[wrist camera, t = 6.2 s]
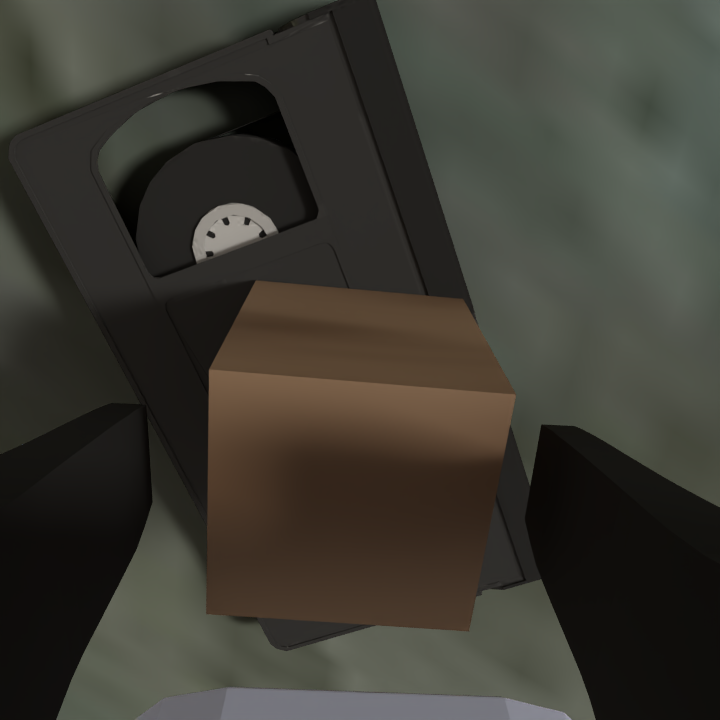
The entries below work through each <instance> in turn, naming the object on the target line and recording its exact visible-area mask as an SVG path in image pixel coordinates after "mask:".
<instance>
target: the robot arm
mask: <svg viewBox="0 0 720 720" xmlns="http://www.w3.org/2000/svg"><path fill="white" fill-rule="evenodd" d="M151 505H152V487H151V471H150V455H149V439H148V423H147V407H146V405H140V404H120V403H111V404H108V405H105V406H102V407H100V408H98V409H95V410H93V411H91V412H89V413H87V414H85V415H82V416H80V417H78V418H76V419H74V420H72V421H70V422H68V423H66V424H64V425H62V426H60V427H58V428H56V429H54V430H52V431H50V432H48V433H46V434H44V435H42V436H40V437H38V438H36V439H34V440H32V441H30V442H27V443H25V444H23V445H21V446H19V447H16V448H14V449H12V450H10V451H7V452H5V453H3V454H1V455H0V720H56V718H57V716H58V713H59V711H60V708H61V705H62V703H63V700H64V698H65V695H66V692H67V690H68V687H69V685H70V682H71V679H72V677H73V675H74V673H75V670H76V668H77V666H78V664H79V662H80V660H81V657H82V655H83V653H84V651H85V649H86V647H87V645H88V643H89V641H90V639H91V637H92V635H93V634H94V632H95V630H96V628H97V626H98V624H99V622H100V620H101V618H102V616H103V614H104V612H105V610H106V608H107V606H108V604H109V603H110V601H111V599H112V597H113V595H114V593H115V591H116V589H117V587H118V585H119V583H120V581H121V579H122V577H123V575H124V573H125V571H126V569H127V567H128V565H129V563H130V561H131V559H132V557H133V555H134V553H135V551H136V549H137V547H138V544H139V541H140V538H141V535H142V532H143V530H144V527H145V524H146V521H147V517H148V514H149V511H150V508H151ZM525 523H526V527H527V531H528V536H529V540H530V544H531V548H532V552H533V556H534V559H535V563H536V566H537V569H538V571H539V574H540V577H541V579H542V581H543V584H544V586H545V589H546V591H547V594H548V596H549V599H550V601H551V604H552V606H553V608H554V611H555V613H556V615H557V618H558V620H559V623H560V625H561V627H562V630H563V632H564V635H565V637H566V639H567V642H568V644H569V647H570V649H571V651H572V654H573V656H574V658H575V661H576V663H577V666H578V668H579V670H580V673H581V676H582V679H583V681H584V684H585V687H586V690H587V692H588V695H589V698H590V701H591V705H592V708H593V711H594V715H595V718H596V720H720V507H718V506H716V505H714V504H712V503H710V502H708V501H706V500H704V499H702V498H701V497H699V496H697V495H695V494H693V493H691V492H689V491H687V490H686V489H684V488H682V487H680V486H678V485H676V484H675V483H673V482H671V481H669V480H668V479H666V478H664V477H662V476H661V475H659V474H657V473H656V472H654V471H652V470H651V469H649V468H647V467H646V466H644V465H642V464H641V463H639V462H637V461H636V460H634V459H632V458H631V457H629V456H627V455H626V454H624V453H622V452H621V451H619V450H617V449H616V448H614V447H613V446H611V445H609V444H608V443H606V442H604V441H603V440H601V439H599V438H597V437H596V436H594V435H592V434H590V433H588V432H586V431H584V430H582V429H580V428H578V427H575V426H560V425H541V430H540V436H539V441H538V447H537V452H536V458H535V464H534V469H533V475H532V480H531V486H530V491H529V497H528V503H527V508H526V514H525ZM135 720H571V719H570V718H569V717H568V716H567V715H566V714H565V713H564V712H560V711H556V710H552V709H548V708H544V707H540V706H536V705H532V704H528V703H524V702H520V701H516V700H512V699H508V698H504V697H497V696H470V695H442V694H415V693H387V692H360V691H332V690H305V689H277V688H249V687H225V688H219V689H213V690H207V691H201V692H195V693H189V694H183V695H176V696H171V697H167V698H163V699H162V700H160V701H159V702H158V703H156V704H155V705H154V706H152V707H151V708H150V709H148V710H147V711H146V712H144V713H143V714H141V715H140V716H139V717H137V718H136V719H135Z"/></svg>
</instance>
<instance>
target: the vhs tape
mask: <svg viewBox="0 0 720 720" xmlns="http://www.w3.org/2000/svg"><path fill="white" fill-rule="evenodd" d="M217 81H255V82H257V83H259V84H261V85H263V86H264V87H266V88H267V89H268V90H269V91H270V92H271V93H272V94H273V96H274V97H275V98H276V101H277V103H278V106H279V109H280V111H278V112H276V113H279V112H281V114H282V116H283V119H284V121H285V124H286V127H287V129H288V132H289V134H290V137H291V139H292V142H293V144H294V147H295V148H293V147H291V146H290V145H288V144H286V143H284V142H282V141H279V140H277V139H273V138H269V137H264V136H259V135H255V134H250V133H242V134H236V135H230V136H223V137H219V136H221V135H224V134H226V133H229V132H231V131H234V130H236V129H239V128H241V127H244V126H246V125H249V124H251V123H254V122H256V121H259V120H261V119H264V118H266V117H269V116H271V115H274V114H276V113H273V114H271V115H268V116H266V117H263V118H261V119H258V120H256V121H253V122H251V123H248V124H246V125H243V126H241V127H238V128H236V129H233V130H231V131H228V132H226V133H223V134H220V135H218V136H215V137H213V138H210V139H207V140H204V141H200V142H197V143H194V144H193V145H191V146H190V147H188V148H187V149H185V150H184V151H182V152H181V153H179V154H178V155H176V156H175V157H173V158H171V159H170V160H168V161H167V162H166V163H165V165H164V166H163V167H162V168H161V169H160V171H159V172H158V173H157V174H156V175H155V177H154V178H153V179H152V180H151V182H150V184H149V186H148V188H147V191H146V193H145V195H144V197H143V200H142V202H141V204H140V208H139V217H138V225H137V233H136V242H137V247H138V250H137V248H136V246H135V244H134V242H133V240H132V238H131V236H130V234H129V232H128V230H127V228H126V226H125V224H124V222H123V220H122V218H121V216H120V214H119V212H118V210H117V208H116V206H115V204H114V202H113V200H112V198H111V196H110V194H109V192H108V189H107V187H106V185H105V183H104V181H103V179H102V177H101V175H100V173H99V171H98V160H97V159H98V155H99V151H100V149H101V148H102V147H103V145H104V144H105V143H106V141H107V140H108V139H109V137H110V136H111V135H112V134H113V133H114V132H115V131H116V130H117V129H118V128H119V127H120V126H121V125H123V124H124V123H125V122H126V121H127V120H128V119H129V118H130V117H131V116H132V115H133V114H134V113H136V112H137V111H139V110H140V109H142V108H144V107H146V106H148V105H150V104H151V103H153V102H155V101H157V100H159V99H161V98H162V97H164V96H166V95H168V94H170V93H172V92H176V91H179V90H182V89H185V88H188V87H192V86H197V85H202V84H207V83H212V82H217ZM216 137H217V138H216ZM8 159H9V161H10V163H11V165H12V166H13V168H14V170H15V172H16V174H17V176H18V178H19V179H20V181H21V183H22V185H23V187H24V189H25V190H26V192H27V194H28V196H29V198H30V200H31V202H32V203H33V205H34V207H35V209H36V211H37V213H38V215H39V216H40V218H41V220H42V222H43V224H44V226H45V227H46V229H47V231H48V233H49V235H50V237H51V239H52V240H53V242H54V244H55V246H56V248H57V250H58V252H59V253H60V255H61V257H62V259H63V261H64V263H65V264H66V266H67V268H68V270H69V272H70V274H71V276H72V277H73V279H74V281H75V283H76V285H77V287H78V289H79V290H80V292H81V294H82V296H83V298H84V300H85V302H86V303H87V305H88V307H89V309H90V311H91V313H92V314H93V316H94V318H95V320H96V322H97V324H98V326H99V327H100V329H101V331H102V333H103V335H104V337H105V339H106V340H107V342H108V344H109V346H110V348H111V350H112V351H113V353H114V355H115V357H116V359H117V361H118V363H119V364H120V366H121V368H122V370H123V372H124V374H125V376H126V377H127V379H128V381H129V383H130V385H131V387H132V388H133V390H134V392H135V394H136V396H137V398H138V400H139V401H140V403H141V405H146V407H147V416H148V418H149V420H150V422H151V424H152V425H153V427H154V429H155V431H156V433H157V435H158V437H159V438H160V440H161V442H162V444H163V446H164V448H165V450H166V451H167V453H168V455H169V457H170V459H171V461H172V462H173V464H174V466H175V468H176V470H177V472H178V474H179V475H180V477H181V479H182V481H183V483H184V485H185V487H186V488H187V490H188V492H189V494H190V496H191V498H192V499H193V501H194V503H195V505H196V507H197V509H198V511H199V512H200V514H201V516H202V518H203V520H204V522H205V524H206V525H207V511H208V422H209V369H210V367H211V365H212V363H213V361H214V359H215V357H216V355H217V353H218V352H219V350H220V348H221V346H222V344H223V342H224V340H225V338H226V336H227V334H228V333H229V331H230V329H231V327H232V325H233V323H234V321H235V319H236V317H237V315H238V314H239V312H240V310H241V308H242V306H243V304H244V302H245V300H246V298H247V296H248V295H249V293H250V291H251V289H252V287H253V285H254V283H255V281H256V280H257V281H268V282H280V283H291V284H302V285H313V286H325V287H336V288H347V289H359V290H370V291H381V292H392V293H404V294H415V295H426V296H435V297H446V298H458V299H463V300H464V301H465V303H466V305H467V307H468V309H469V310H470V312H471V314H472V316H473V318H474V319H475V321H476V323H477V320H476V317H475V312H474V309H473V305H472V302H471V299H470V296H469V293H468V290H467V286H466V283H465V280H464V277H463V274H462V271H461V268H460V264H459V261H458V258H457V255H456V252H455V249H454V245H453V242H452V239H451V236H450V233H449V230H448V226H447V223H446V220H445V217H444V214H443V211H442V208H441V204H440V201H439V198H438V195H437V192H436V189H435V185H434V182H433V179H432V176H431V173H430V170H429V166H428V163H427V160H426V157H425V154H424V151H423V148H422V144H421V141H420V138H419V135H418V132H417V129H416V125H415V122H414V119H413V116H412V113H411V110H410V107H409V103H408V100H407V97H406V94H405V91H404V88H403V84H402V81H401V78H400V75H399V72H398V69H397V65H396V62H395V59H394V56H393V53H392V50H391V47H390V43H389V40H388V37H387V34H386V31H385V28H384V24H383V21H382V18H381V15H380V12H379V9H378V5H377V2H376V0H338V1H336V2H333V3H331V4H328V5H326V6H324V7H321V8H319V9H316V10H314V11H312V12H309V13H308V14H305V15H303V16H301V17H299V18H297V19H294V20H292V21H290V22H289V23H287V24H285V25H284V26H282V27H280V28H279V32H275V33H274V32H273V31H272V30H270V29H269V30H267V31H264V32H262V33H260V34H257V35H255V36H252V37H250V38H248V39H245V40H243V41H240V42H238V43H236V44H233V45H231V46H228V47H226V48H224V49H221V50H219V51H216V52H214V53H212V54H209V55H207V56H204V57H202V58H200V59H197V60H195V61H192V62H190V63H188V64H185V65H183V66H180V67H178V68H176V69H173V70H171V71H168V72H166V73H164V74H161V75H159V76H156V77H154V78H152V79H149V80H147V81H145V82H142V83H140V84H137V85H135V86H133V87H130V88H128V89H125V90H123V91H121V92H118V93H116V94H113V95H111V96H109V97H106V98H104V99H101V100H99V101H97V102H94V103H92V104H89V105H87V106H85V107H82V108H80V109H77V110H75V111H73V112H70V113H68V114H65V115H63V116H61V117H58V118H56V119H53V120H51V121H49V122H46V123H44V124H41V125H39V126H37V127H34V128H32V129H29V130H27V131H25V132H22V133H20V134H17V135H15V137H14V138H13V139H12V141H11V142H10V144H9V155H8ZM138 251H139V252H138ZM477 325H478V323H477ZM478 327H479V326H478ZM529 491H530V485H529V482H528V479H527V476H526V473H525V470H524V466H523V463H522V460H521V457H520V454H519V451H518V447H517V444H516V441H515V438H514V435H513V432H512V428H511V425H510V428H509V433H508V438H507V443H506V448H505V453H504V458H503V463H502V468H501V473H500V478H499V483H498V488H497V493H496V498H495V503H494V508H493V513H492V518H491V523H490V528H489V533H488V538H487V543H486V548H485V553H484V558H483V563H482V568H481V573H480V578H479V583H478V588H477V593H476V596H479V595H482V591H483V590H487V589H500V590H505V589H508V588H512V587H515V586H519V585H522V584H525V583H529V582H532V581H536V580H539V579H541V577H540V574H539V571H538V569H537V566H536V563H535V559H534V556H533V552H532V548H531V544H530V540H529V536H528V531H527V527H526V523H525V514H526V508H527V503H528V497H529ZM256 618H257V620H258V622H259V623H260V625H261V627H262V629H263V631H264V633H265V635H266V636H267V638H268V640H269V642H270V644H271V645H272V646H274V647H275V648H277V649H280V650H284V651H288V650H292V649H295V648H299V647H302V646H306V645H309V644H313V643H316V642H320V641H323V640H327V639H330V638H333V637H337V636H340V635H344V634H347V633H351V632H354V631H358V630H361V629H365V628H368V627H372V626H375V625H366V624H350V623H335V622H320V621H305V620H289V619H274V618H259V617H256Z"/></svg>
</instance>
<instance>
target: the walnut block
mask: <svg viewBox="0 0 720 720" xmlns="http://www.w3.org/2000/svg"><path fill="white" fill-rule="evenodd" d="M515 398H516V394H515V392H514V390H513V388H512V386H511V385H510V383H509V381H508V379H507V377H506V376H505V374H504V372H503V370H502V368H501V366H500V365H499V363H498V361H497V359H496V357H495V356H494V354H493V352H492V350H491V348H490V347H489V345H488V343H487V341H486V339H485V338H484V336H483V334H482V332H481V330H480V329H479V327H478V325H477V323H476V321H475V319H474V318H473V316H472V314H471V312H470V310H469V309H468V307H467V305H466V303H465V301H464V300H463V299H458V298H446V297H435V296H426V295H415V294H404V293H392V292H381V291H370V290H359V289H347V288H336V287H325V286H313V285H302V284H291V283H280V282H268V281H257V280H256V281H255V283H254V285H253V287H252V289H251V291H250V293H249V295H248V296H247V298H246V300H245V302H244V304H243V306H242V308H241V310H240V312H239V314H238V315H237V317H236V319H235V321H234V323H233V325H232V327H231V329H230V331H229V333H228V334H227V336H226V338H225V340H224V342H223V344H222V346H221V348H220V350H219V352H218V353H217V355H216V357H215V359H214V361H213V363H212V365H211V367H210V369H209V422H208V511H207V599H206V614H213V615H229V616H244V617H259V618H274V619H289V620H305V621H320V622H335V623H350V624H366V625H381V626H396V627H411V628H427V629H442V630H457V631H469V628H470V623H471V618H472V613H473V608H474V603H475V598H476V593H477V588H478V583H479V578H480V573H481V568H482V563H483V558H484V553H485V548H486V543H487V538H488V533H489V528H490V523H491V518H492V513H493V508H494V503H495V498H496V493H497V488H498V483H499V478H500V473H501V468H502V463H503V458H504V453H505V448H506V443H507V438H508V433H509V428H510V423H511V418H512V413H513V408H514V403H515Z"/></svg>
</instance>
